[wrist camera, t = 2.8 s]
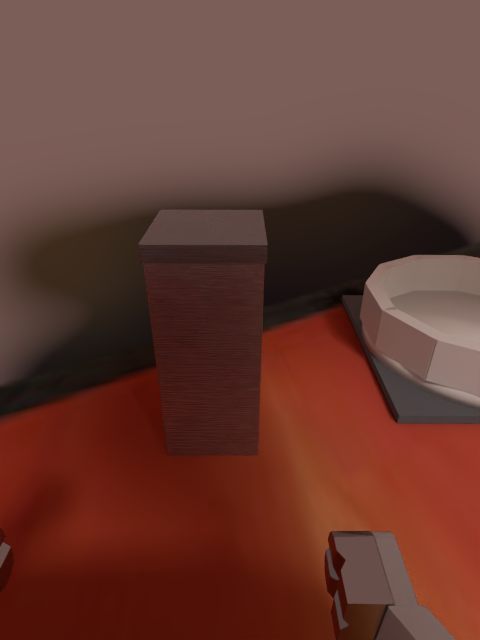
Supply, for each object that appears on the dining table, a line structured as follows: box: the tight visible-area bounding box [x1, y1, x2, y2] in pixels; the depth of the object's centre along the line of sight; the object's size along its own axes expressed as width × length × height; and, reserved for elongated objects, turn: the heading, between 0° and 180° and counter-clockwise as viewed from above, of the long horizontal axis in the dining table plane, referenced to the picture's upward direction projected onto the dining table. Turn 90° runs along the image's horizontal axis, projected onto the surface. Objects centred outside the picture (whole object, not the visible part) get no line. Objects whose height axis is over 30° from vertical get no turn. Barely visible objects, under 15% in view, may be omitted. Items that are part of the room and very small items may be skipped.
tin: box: [138, 210, 268, 455], centre depth 22 cm, size 5×5×12 cm
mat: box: [342, 295, 480, 423], centre depth 31 cm, size 16×16×1 cm
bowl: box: [360, 255, 480, 410], centre depth 30 cm, size 16×16×4 cm
